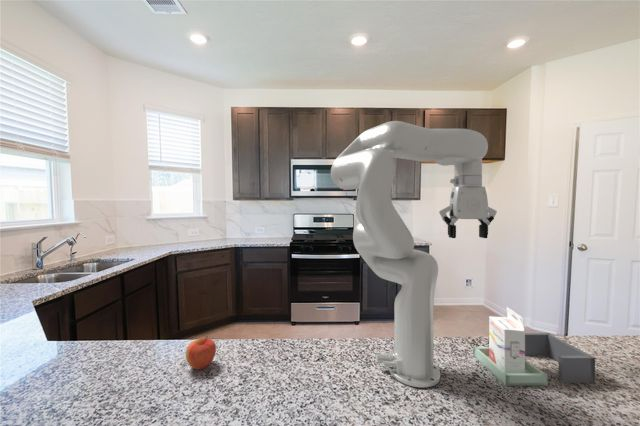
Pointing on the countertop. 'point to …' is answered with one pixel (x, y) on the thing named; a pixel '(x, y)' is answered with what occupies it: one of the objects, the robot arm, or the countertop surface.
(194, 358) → the apple
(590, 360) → the bracket
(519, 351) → the ink cartridge box
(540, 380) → the tray
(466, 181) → the robot arm
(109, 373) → the countertop surface
